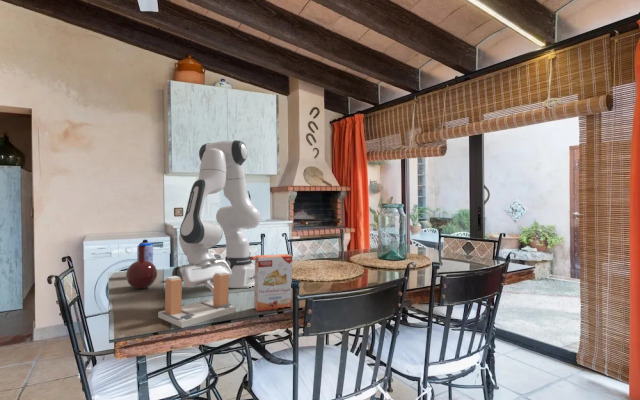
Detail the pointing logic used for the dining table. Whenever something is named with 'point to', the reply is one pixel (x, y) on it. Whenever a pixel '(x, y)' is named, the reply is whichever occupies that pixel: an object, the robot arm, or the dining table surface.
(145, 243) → the aerosol can
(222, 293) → the tan tall bar
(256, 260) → the cracker box
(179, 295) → the orange rectangular block
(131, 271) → the round-bottom flask
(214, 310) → the white base plate
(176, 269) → the ceramic mug
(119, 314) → the dining table surface
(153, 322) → the dining table surface
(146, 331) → the dining table surface
